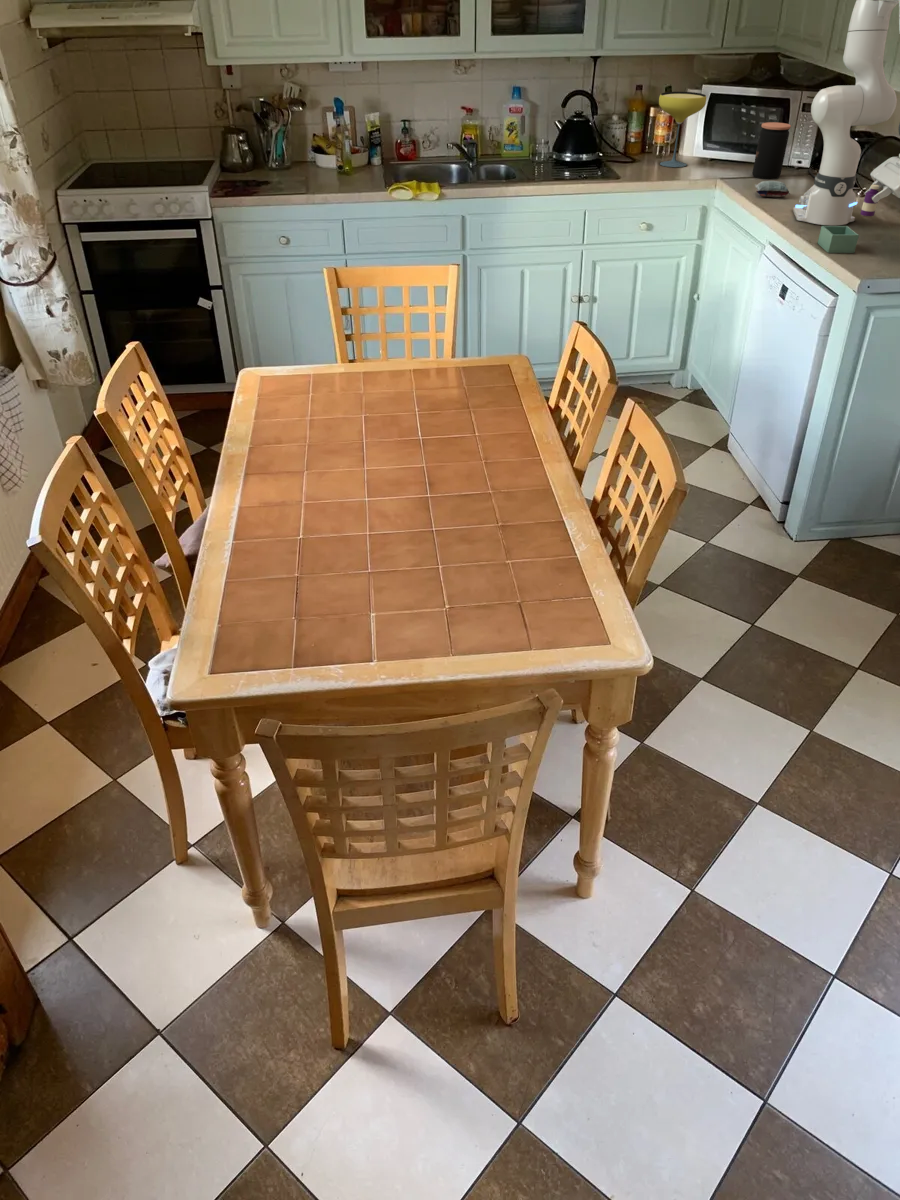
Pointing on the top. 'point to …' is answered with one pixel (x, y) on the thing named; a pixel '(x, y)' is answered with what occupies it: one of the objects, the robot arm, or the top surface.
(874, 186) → the grape juice bottle
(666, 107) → the cocktail glass
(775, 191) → the packaged food
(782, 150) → the coffee jar
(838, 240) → the bin
